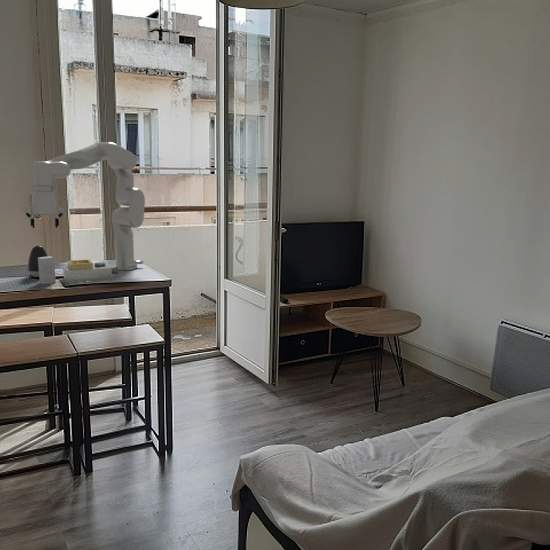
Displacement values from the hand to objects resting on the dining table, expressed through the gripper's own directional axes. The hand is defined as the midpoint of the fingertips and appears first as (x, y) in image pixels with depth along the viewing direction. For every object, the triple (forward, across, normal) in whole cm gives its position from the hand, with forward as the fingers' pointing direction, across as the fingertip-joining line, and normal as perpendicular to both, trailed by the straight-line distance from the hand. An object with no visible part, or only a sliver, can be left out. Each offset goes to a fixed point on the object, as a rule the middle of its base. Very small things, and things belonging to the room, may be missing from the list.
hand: (45, 227), depth 248 cm
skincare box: (+26, 0, +1) cm, 26 cm away
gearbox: (+25, -20, -2) cm, 32 cm away
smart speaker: (+26, +2, -15) cm, 30 cm away
